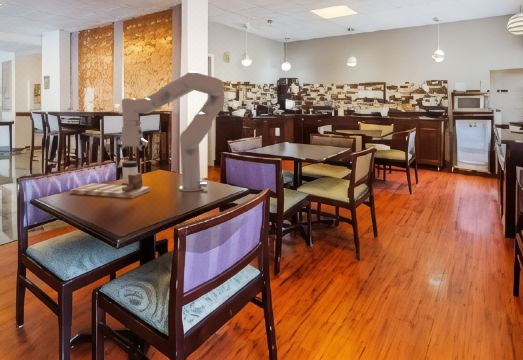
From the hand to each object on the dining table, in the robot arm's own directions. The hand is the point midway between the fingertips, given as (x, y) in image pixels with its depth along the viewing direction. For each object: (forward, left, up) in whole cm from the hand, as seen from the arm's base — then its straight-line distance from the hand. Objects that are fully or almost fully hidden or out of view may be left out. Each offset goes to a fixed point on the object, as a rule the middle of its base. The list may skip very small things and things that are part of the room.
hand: (133, 157), depth 193 cm
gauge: (0, +3, -16) cm, 16 cm away
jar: (+16, -19, -18) cm, 31 cm away
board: (+12, +4, -18) cm, 22 cm away
